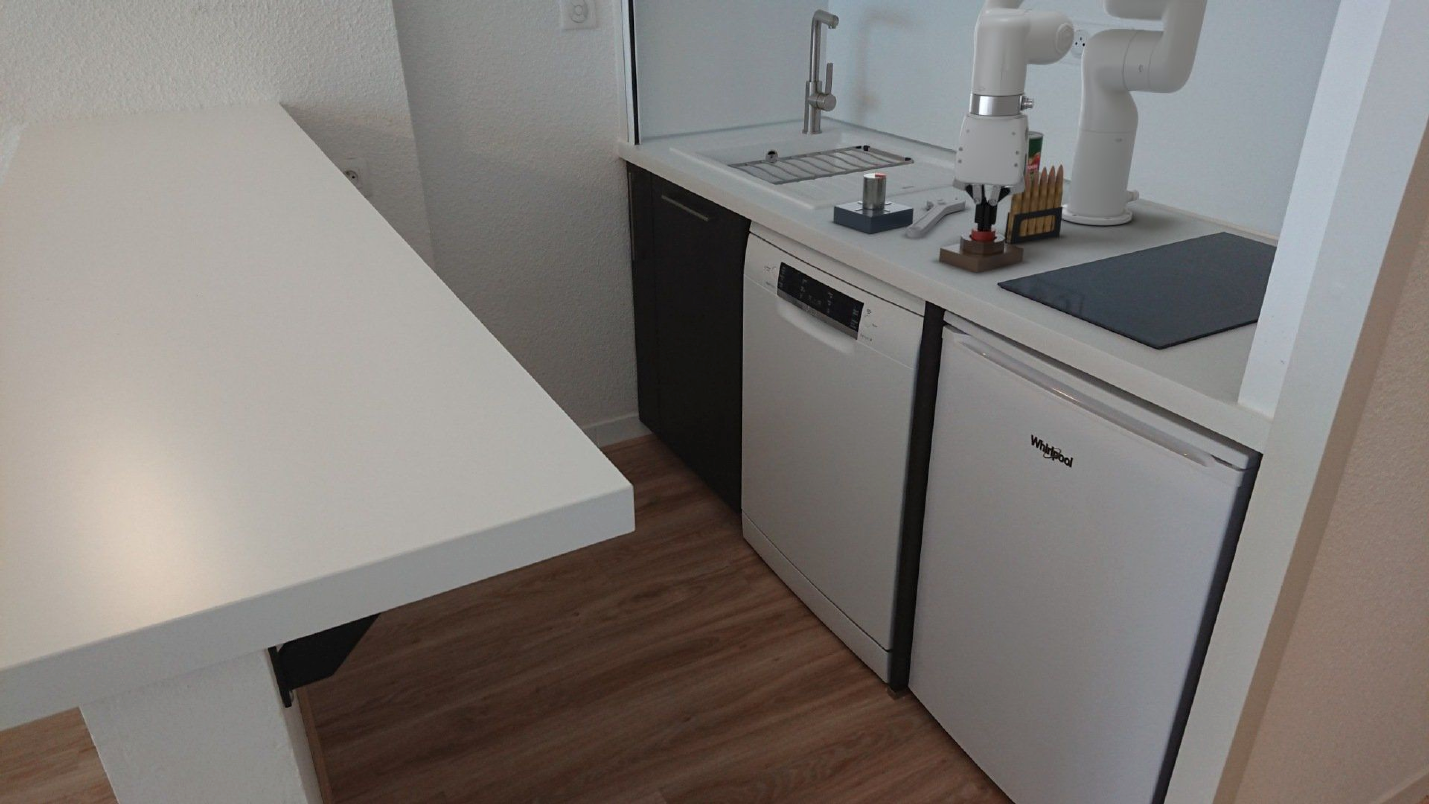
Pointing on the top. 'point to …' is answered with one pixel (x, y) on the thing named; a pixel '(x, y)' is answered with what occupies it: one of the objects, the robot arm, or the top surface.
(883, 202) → the silver upright cylinder
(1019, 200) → the ammunition clip
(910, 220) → the block
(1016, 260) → the block
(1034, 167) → the canned tomato
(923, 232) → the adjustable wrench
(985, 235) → the release button
